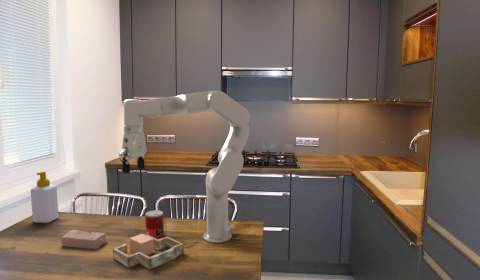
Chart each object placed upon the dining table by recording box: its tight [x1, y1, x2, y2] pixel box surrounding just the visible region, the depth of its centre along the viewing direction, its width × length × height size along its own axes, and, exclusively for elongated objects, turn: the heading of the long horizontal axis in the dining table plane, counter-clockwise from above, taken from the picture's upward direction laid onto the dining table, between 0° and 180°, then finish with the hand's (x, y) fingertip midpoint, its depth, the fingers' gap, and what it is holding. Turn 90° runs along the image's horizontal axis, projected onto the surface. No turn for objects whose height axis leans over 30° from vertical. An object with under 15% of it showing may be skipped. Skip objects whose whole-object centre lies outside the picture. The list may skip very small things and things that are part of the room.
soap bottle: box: [30, 170, 60, 224], centre depth 180 cm, size 9×9×25 cm
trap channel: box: [112, 235, 185, 270], centre depth 143 cm, size 22×19×4 cm
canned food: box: [144, 209, 165, 240], centre depth 161 cm, size 8×8×11 cm
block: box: [129, 233, 155, 256], centre depth 146 cm, size 6×8×6 cm
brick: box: [60, 229, 107, 250], centre depth 154 cm, size 17×8×5 cm, turn 80°
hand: (133, 170), depth 148 cm, fingers open, 9 cm apart
